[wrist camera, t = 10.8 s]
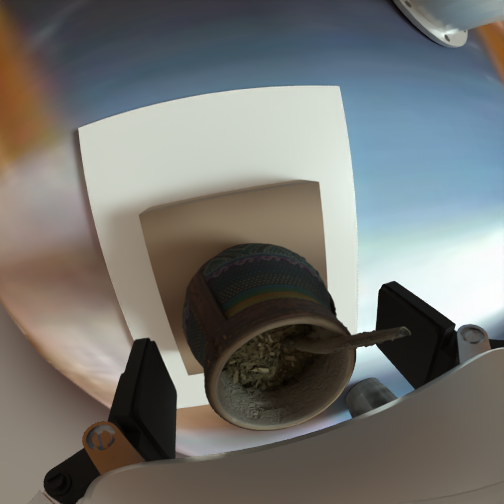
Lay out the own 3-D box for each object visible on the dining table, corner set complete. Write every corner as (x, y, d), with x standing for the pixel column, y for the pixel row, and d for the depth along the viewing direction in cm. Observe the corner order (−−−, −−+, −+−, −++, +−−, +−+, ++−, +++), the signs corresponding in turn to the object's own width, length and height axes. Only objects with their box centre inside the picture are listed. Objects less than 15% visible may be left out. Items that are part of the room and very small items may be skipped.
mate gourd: (163, 313, 16) (138, 459, 6) (228, 200, 14) (282, 250, 5) (263, 358, 18) (312, 485, 8) (329, 264, 17) (445, 353, 7)
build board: (82, 129, 15) (78, 128, 14) (334, 88, 17) (339, 86, 16) (167, 403, 22) (167, 409, 22) (350, 360, 24) (354, 365, 24)
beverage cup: (329, 420, 27) (400, 553, 8) (339, 378, 25) (440, 534, 6) (380, 403, 28) (460, 514, 9) (395, 360, 26) (503, 481, 7)
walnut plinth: (148, 207, 17) (138, 215, 14) (301, 179, 18) (319, 181, 15) (188, 350, 20) (188, 375, 17) (314, 322, 21) (329, 342, 18)
